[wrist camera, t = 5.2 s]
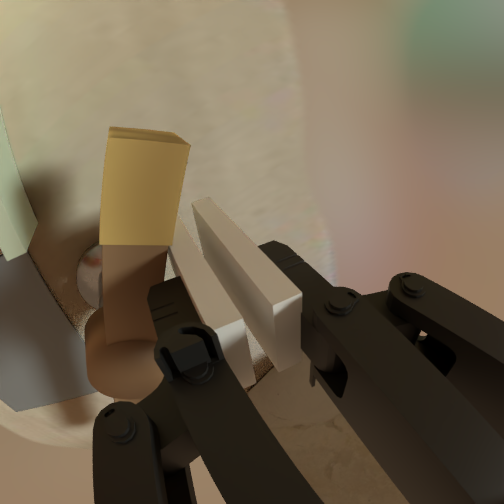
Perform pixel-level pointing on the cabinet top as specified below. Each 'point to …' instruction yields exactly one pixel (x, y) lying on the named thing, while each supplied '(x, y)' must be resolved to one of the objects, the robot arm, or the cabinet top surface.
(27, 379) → the mat
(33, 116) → the cabinet top surface
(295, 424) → the sculpture
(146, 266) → the turn bar
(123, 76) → the cabinet top surface
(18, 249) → the channel
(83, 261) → the metal pivot base
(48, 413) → the cabinet top surface
